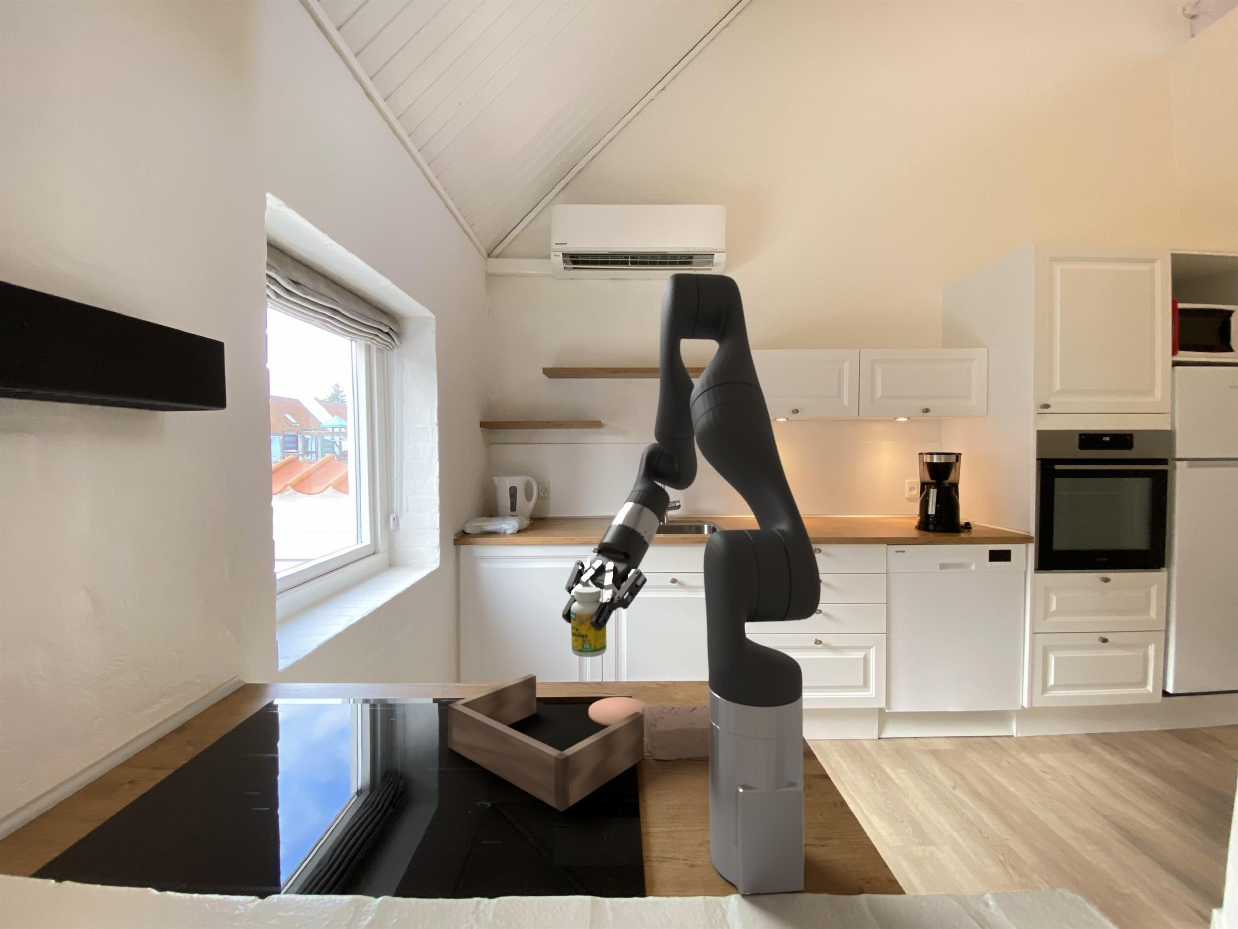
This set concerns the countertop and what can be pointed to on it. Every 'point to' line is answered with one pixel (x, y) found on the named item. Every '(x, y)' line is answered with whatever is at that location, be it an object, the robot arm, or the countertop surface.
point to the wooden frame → (539, 745)
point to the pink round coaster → (614, 709)
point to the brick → (676, 731)
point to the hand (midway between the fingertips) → (580, 623)
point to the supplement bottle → (586, 624)
